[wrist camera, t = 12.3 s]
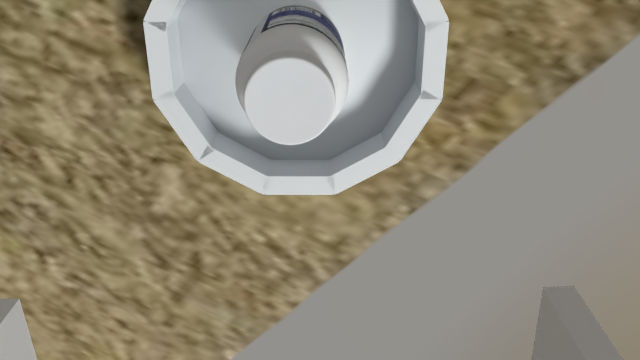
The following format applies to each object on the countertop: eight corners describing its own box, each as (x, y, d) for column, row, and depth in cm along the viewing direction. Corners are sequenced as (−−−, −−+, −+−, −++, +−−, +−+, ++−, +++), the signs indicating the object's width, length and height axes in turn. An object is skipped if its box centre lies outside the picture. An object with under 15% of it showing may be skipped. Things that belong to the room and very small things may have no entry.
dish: (177, 170, 38) (164, 194, 35) (146, -103, 32) (127, -104, 29) (424, 170, 38) (433, 194, 35) (446, -104, 32) (460, -104, 28)
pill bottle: (297, 114, 36) (289, 183, 27) (230, 50, 34) (199, 102, 25) (363, 52, 34) (377, 104, 25) (296, -18, 33) (287, 11, 24)
